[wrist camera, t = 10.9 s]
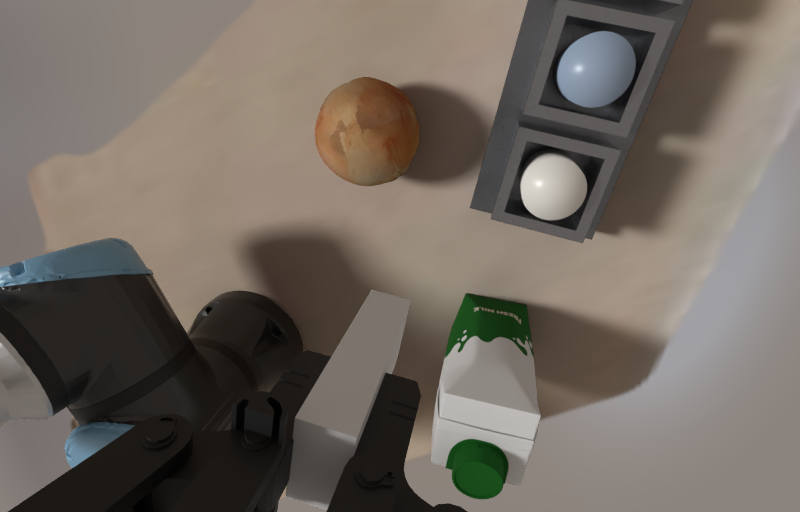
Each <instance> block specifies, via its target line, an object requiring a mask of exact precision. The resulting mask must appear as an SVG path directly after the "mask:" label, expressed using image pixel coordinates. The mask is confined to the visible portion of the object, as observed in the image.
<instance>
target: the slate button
mask: <svg viewBox="0 0 800 512" xmlns="http://www.w3.org/2000/svg"><path fill="white" fill-rule="evenodd" d="M635 68H636V58H635V53H634V51H633V48H632V47H631V45H630V43H629V42H628V41H627V40H626V39H625V38H624V37H622V36H621V35H619V34H616V33H613V32H608V31H600V32H594V33H591V34H588V35H586V36H584V37H582V38H580V39H578V40H575V41H574V42H572V43H570V44H569V45H568V46H567V47H566V48H564V50H563V51H562V52H561V53H560V55H559V56H558V58H557V60H556V63H555V66H554V70H553V80H554V84H555V87H556V89H557V91H558V92H559V94H560V95H561V96H562V97H563V98H565V99H566V100H568V101H571V102H573V103H575V104H577V105H580V106H583V107H589V108H594V107H600V106H604V105H607V104H609V103H611V102H613V101H614V100H616V99H617V98H618V97H620V96H621V95H622V94H623V93H624V92H625V90H626V89H627V88H628V86H629V85H630V83H631V81H632V79H633V76H634V73H635Z"/></svg>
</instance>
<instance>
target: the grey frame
mask: <svg viewBox="0 0 800 512" xmlns="http://www.w3.org/2000/svg"><path fill="white" fill-rule="evenodd" d="M692 2H693V0H528V3H527V6H526V10H525V14H524V17H523V21H522V24H521V28H520V31H519V35H518V38H517V42H516V46H515V49H514V53H513V56H512V60H511V63H510V67H509V70H508V74H507V78H506V81H505V85H504V88H503V92H502V95H501V99H500V102H499V106H498V110H497V113H496V117H495V120H494V124H493V127H492V131H491V134H490V138H489V142H488V145H487V149H486V152H485V156H484V159H483V163H482V166H481V170H480V174H479V177H478V181H477V184H476V188H475V191H474V195H473V199H472V202H471V206H470V208H472V209H476V210H480V211H484V212H488V213H491V219H492V220H496V221H500V222H504V223H508V224H511V225H515V226H519V227H523V228H527V229H530V230H534V231H538V232H542V233H546V234H550V235H553V236H557V237H561V238H565V239H569V240H572V241H576V242H580V243H583V242H584V239H585V238H587V239H591V240H592V238H593V235H594V233H595V231H596V228H597V226H598V223H599V221H600V219H601V216H602V214H603V212H604V209H605V207H606V205H607V202H608V200H609V198H610V195H611V193H612V190H613V188H614V186H615V183H616V181H617V179H618V176H619V174H620V172H621V169H622V167H623V164H624V162H625V160H626V157H627V155H628V153H629V150H630V148H631V146H632V143H633V141H634V138H635V136H636V134H637V131H638V129H639V127H640V124H641V122H642V120H643V117H644V115H645V112H646V110H647V108H648V105H649V103H650V101H651V98H652V96H653V94H654V91H655V89H656V87H657V84H658V82H659V79H660V77H661V75H662V72H663V70H664V68H665V65H666V63H667V61H668V58H669V56H670V53H671V51H672V49H673V46H674V44H675V42H676V39H677V37H678V35H679V32H680V30H681V27H682V25H683V23H684V20H685V18H686V16H687V13H688V11H689V9H690V6H691V4H692ZM600 31H608V32H613V33H616V34H619V35H621V36H622V37H624V38H625V39H626V40H627V41H628V42H629V43H630V45H631V47H632V48H633V51H634V53H635V58H636V68H635V73H634V76H633V79H632V81H631V83H630V85H629V86H628V88H627V89H626V90H625V92H624V93H623V94H622V95H621V96H620V97H618V98H617V99H616V100H614V101H613V102H611V103H609V104H607V105H604V106H600V107H594V108H589V107H583V106H580V105H577V104H575V103H573V102H571V101H568V100H566V99H565V98H563V97H562V96H561V95H560V94H559V92H558V91H557V89H556V87H555V84H554V80H553V70H554V66H555V63H556V60H557V58H558V56H559V55H560V53H561V52H562V51H563V50H564V48H566V47H567V46H568V45H569V44H570V43H572V42H574V41H575V40H578V39H580V38H582V37H584V36H586V35H588V34H591V33H594V32H600ZM545 149H557V150H561V151H563V152H565V153H567V154H568V155H569V156H570V157H571V158H572V159H573V160H574V162H575V163H576V164H577V165H578V167H579V168H580V169H581V171H582V172H583V174H584V176H585V178H586V182H587V193H586V197H585V199H584V201H583V203H582V205H581V206H580V207H579V208H578V209H577V210H576V211H575V212H574V213H573V214H571V215H570V216H568V217H565V218H563V219H559V220H545V219H541V218H538V217H536V216H535V215H533V214H532V213H530V212H529V211H528V209H527V208H526V207H525V205H524V203H523V200H522V196H521V188H520V178H519V177H520V171H521V168H522V166H523V164H524V163H525V161H526V160H527V159H528V158H529V157H530V156H531V155H533V154H534V153H536V152H538V151H541V150H545Z"/></svg>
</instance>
